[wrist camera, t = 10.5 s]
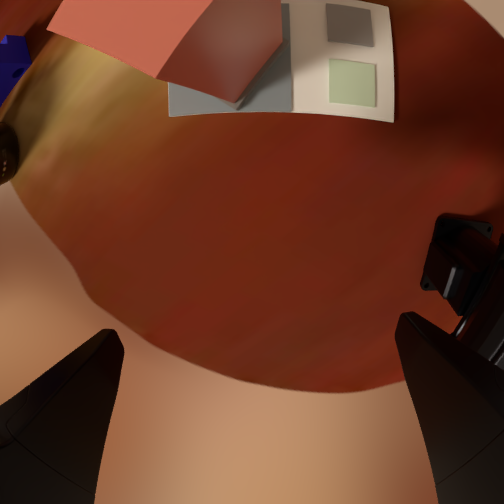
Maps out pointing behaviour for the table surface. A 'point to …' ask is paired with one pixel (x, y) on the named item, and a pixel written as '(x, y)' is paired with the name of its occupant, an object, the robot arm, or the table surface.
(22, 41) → the blue cradle bracket
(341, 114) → the panel board
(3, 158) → the supplement bottle
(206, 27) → the salmon block on plinth
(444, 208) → the table surface
